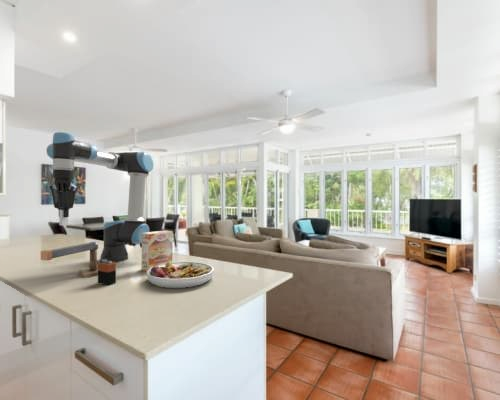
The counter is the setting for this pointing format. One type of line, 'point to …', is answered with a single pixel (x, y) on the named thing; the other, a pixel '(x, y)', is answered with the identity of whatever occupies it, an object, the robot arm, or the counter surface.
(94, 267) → the arm post
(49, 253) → the swing arm
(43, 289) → the counter surface
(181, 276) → the bowl
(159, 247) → the coffeecake box
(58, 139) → the robot arm
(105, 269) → the battery
